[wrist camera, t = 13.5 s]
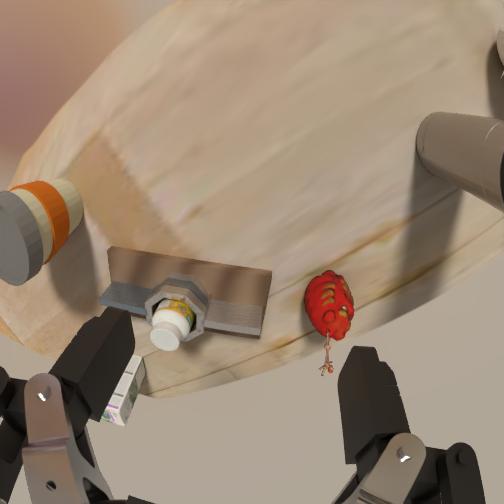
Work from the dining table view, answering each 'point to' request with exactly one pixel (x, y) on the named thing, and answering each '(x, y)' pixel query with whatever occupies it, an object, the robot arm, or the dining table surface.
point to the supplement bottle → (171, 324)
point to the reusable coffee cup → (35, 226)
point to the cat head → (501, 43)
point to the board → (208, 273)
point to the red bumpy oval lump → (329, 308)
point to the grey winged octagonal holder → (193, 296)
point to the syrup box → (125, 392)
